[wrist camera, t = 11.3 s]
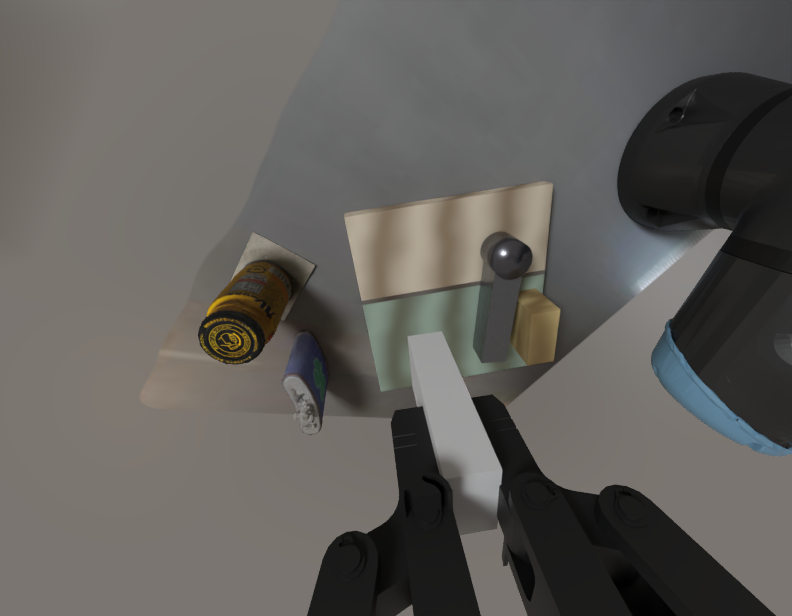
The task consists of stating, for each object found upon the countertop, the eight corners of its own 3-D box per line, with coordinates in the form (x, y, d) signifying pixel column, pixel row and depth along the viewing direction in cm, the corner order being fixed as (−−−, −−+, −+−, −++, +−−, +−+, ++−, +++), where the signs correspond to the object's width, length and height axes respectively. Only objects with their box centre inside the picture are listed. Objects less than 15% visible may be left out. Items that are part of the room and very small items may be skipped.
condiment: (225, 293, 38) (174, 354, 27) (253, 231, 35) (208, 273, 24) (284, 320, 40) (259, 385, 29) (315, 264, 37) (299, 315, 27)
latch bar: (482, 231, 35) (496, 242, 31) (518, 230, 35) (536, 241, 32) (468, 346, 42) (479, 366, 38) (498, 344, 42) (511, 363, 39)
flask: (292, 331, 41) (274, 390, 31) (315, 327, 41) (303, 384, 32) (313, 386, 45) (302, 451, 36) (333, 381, 45) (328, 446, 36)
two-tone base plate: (543, 181, 35) (586, 191, 29) (529, 355, 47) (557, 391, 40) (344, 213, 35) (342, 231, 28) (379, 382, 46) (383, 422, 40)
